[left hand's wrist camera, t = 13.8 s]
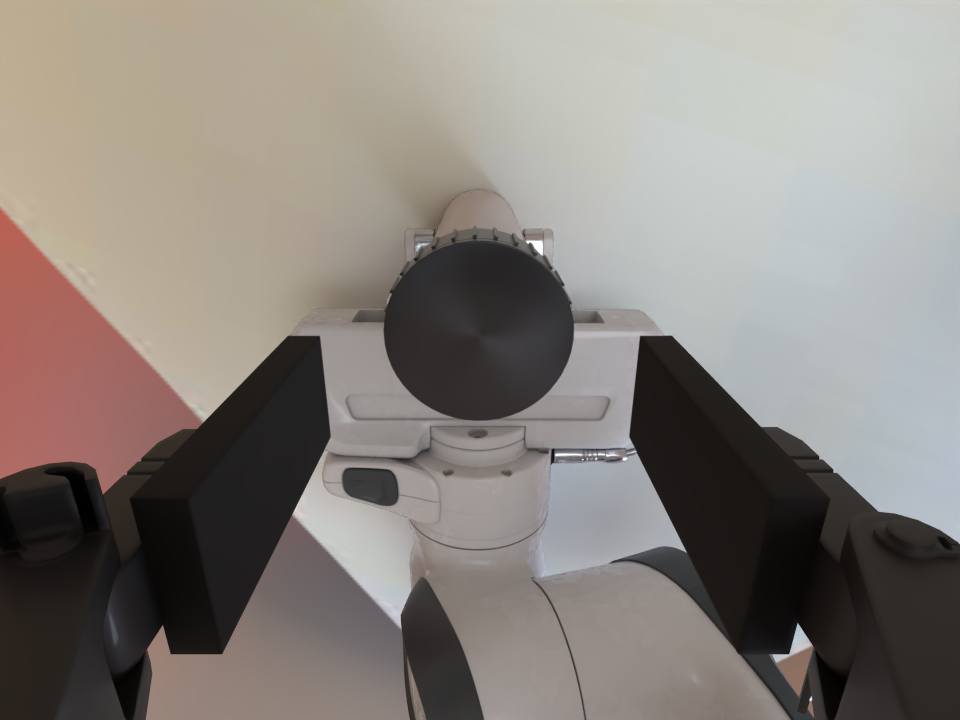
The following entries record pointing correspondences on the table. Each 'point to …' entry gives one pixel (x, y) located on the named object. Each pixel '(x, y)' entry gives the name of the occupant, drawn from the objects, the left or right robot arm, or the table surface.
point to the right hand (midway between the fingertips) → (478, 229)
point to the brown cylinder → (479, 214)
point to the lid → (478, 325)
